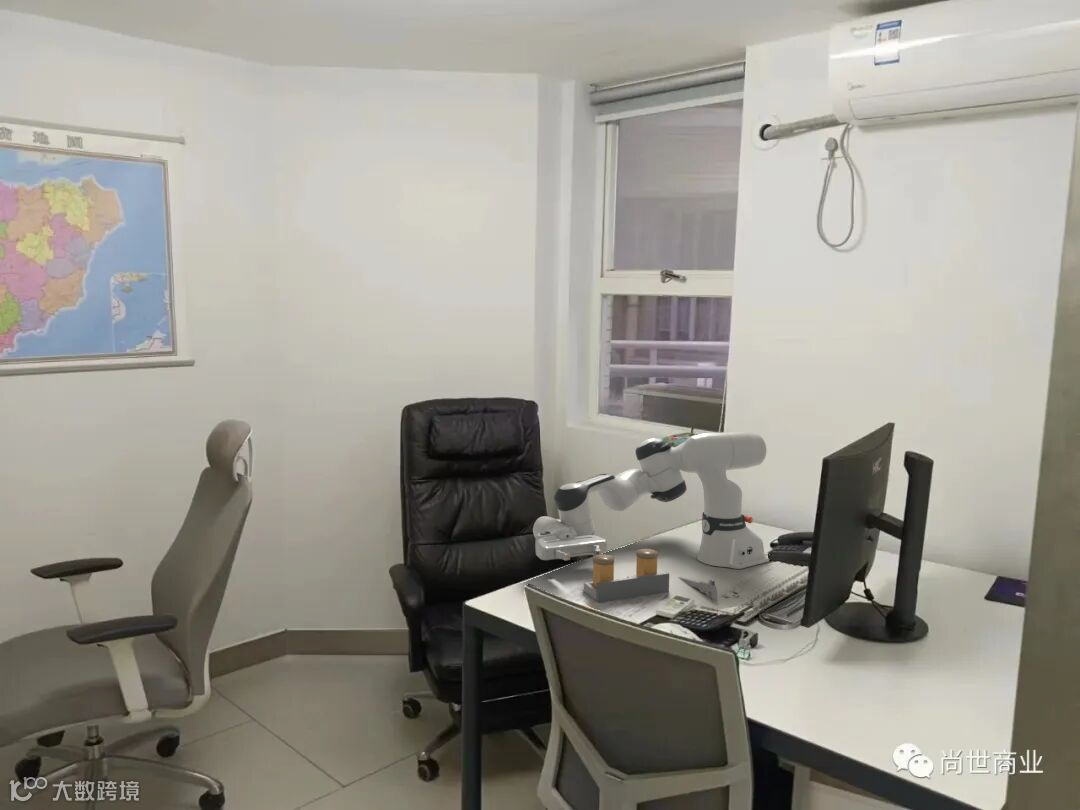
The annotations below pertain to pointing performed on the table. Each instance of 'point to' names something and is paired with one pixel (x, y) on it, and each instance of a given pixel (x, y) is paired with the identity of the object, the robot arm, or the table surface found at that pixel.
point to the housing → (628, 587)
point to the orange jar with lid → (646, 562)
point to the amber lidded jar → (603, 568)
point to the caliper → (703, 587)
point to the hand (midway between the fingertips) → (583, 555)
